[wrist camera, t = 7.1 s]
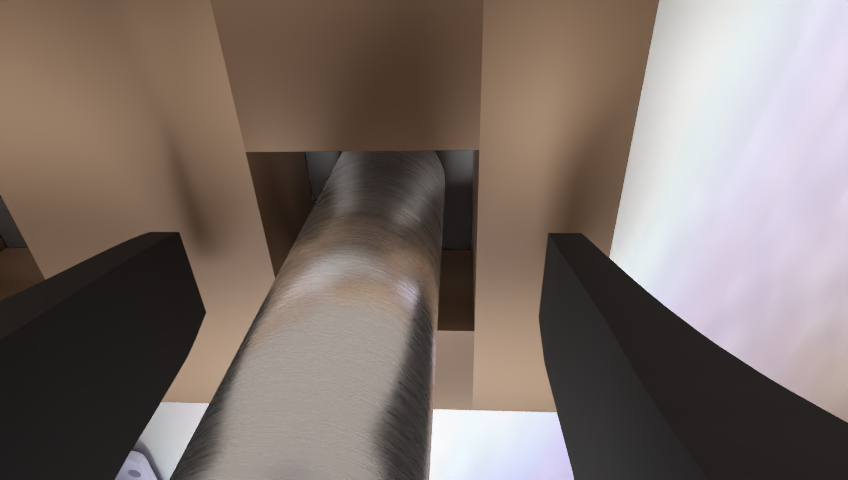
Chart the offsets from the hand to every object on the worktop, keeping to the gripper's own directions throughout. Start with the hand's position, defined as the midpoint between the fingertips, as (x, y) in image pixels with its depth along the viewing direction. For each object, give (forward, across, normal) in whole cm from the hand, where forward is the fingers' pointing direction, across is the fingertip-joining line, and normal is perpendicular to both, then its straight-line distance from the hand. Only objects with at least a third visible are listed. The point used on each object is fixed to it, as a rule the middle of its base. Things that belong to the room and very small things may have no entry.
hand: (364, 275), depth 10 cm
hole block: (+4, +5, 0) cm, 7 cm away
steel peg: (+4, 0, 0) cm, 4 cm away
